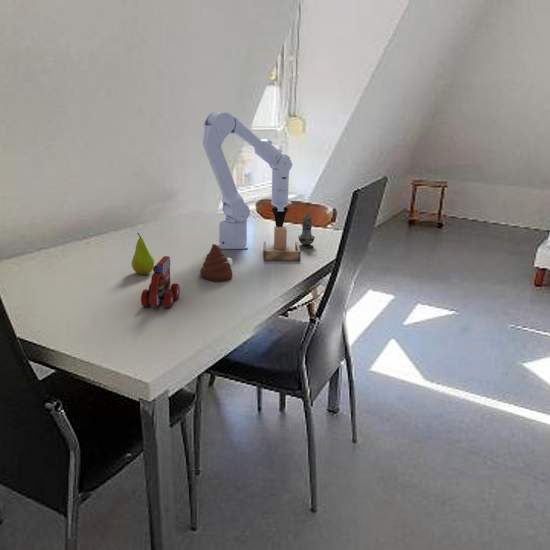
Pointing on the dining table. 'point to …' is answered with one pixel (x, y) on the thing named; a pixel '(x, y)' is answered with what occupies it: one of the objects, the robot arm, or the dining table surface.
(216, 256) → the poop emoji
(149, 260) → the fruit
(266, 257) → the walnut tray
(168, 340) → the dining table surface
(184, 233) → the dining table surface
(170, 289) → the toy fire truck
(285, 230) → the tall block
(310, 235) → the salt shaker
